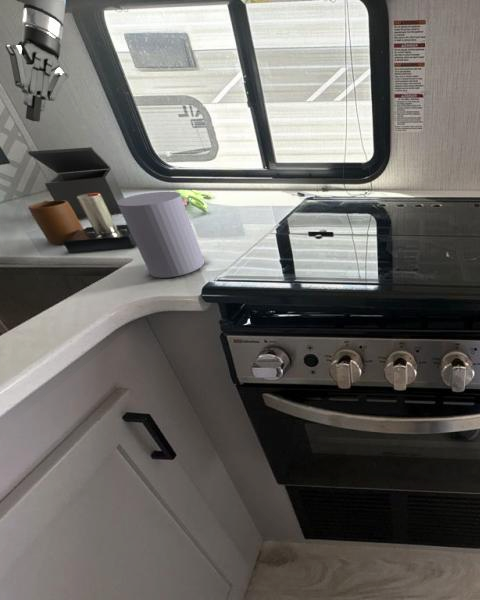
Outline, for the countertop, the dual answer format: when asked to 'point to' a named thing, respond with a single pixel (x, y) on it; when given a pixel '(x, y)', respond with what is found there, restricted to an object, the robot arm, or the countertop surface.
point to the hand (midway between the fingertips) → (32, 119)
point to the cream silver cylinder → (97, 213)
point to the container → (162, 233)
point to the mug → (56, 220)
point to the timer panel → (100, 240)
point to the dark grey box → (86, 189)
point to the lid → (70, 159)
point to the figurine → (196, 196)
